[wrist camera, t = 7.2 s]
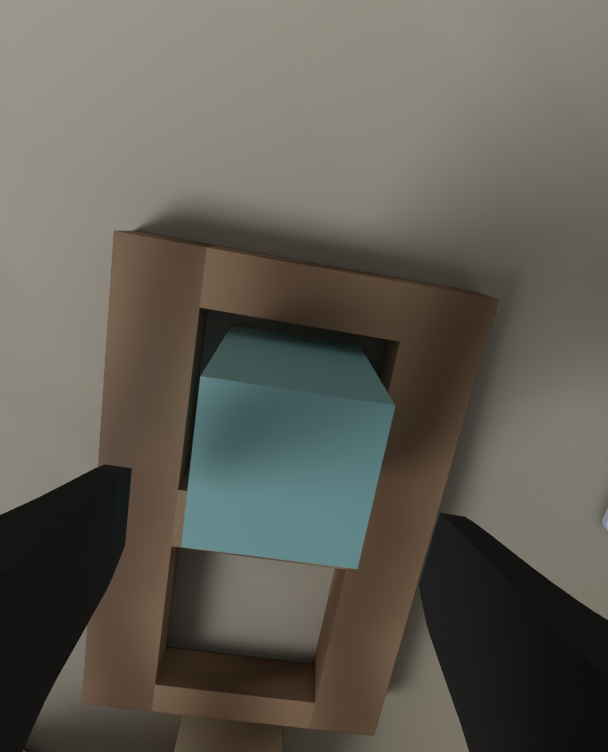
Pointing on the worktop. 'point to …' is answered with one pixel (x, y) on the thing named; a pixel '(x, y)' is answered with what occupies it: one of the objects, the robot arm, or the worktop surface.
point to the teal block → (286, 449)
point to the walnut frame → (171, 471)
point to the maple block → (227, 736)
